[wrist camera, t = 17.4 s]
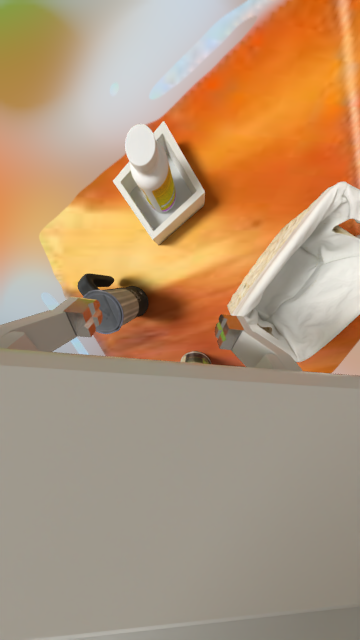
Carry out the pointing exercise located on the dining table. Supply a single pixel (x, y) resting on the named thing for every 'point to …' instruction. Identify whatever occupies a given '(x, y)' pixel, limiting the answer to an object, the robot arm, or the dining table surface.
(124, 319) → the milk frother
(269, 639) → the robot arm
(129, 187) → the box
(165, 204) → the supplement bottle
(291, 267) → the storage basket
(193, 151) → the dining table surface
